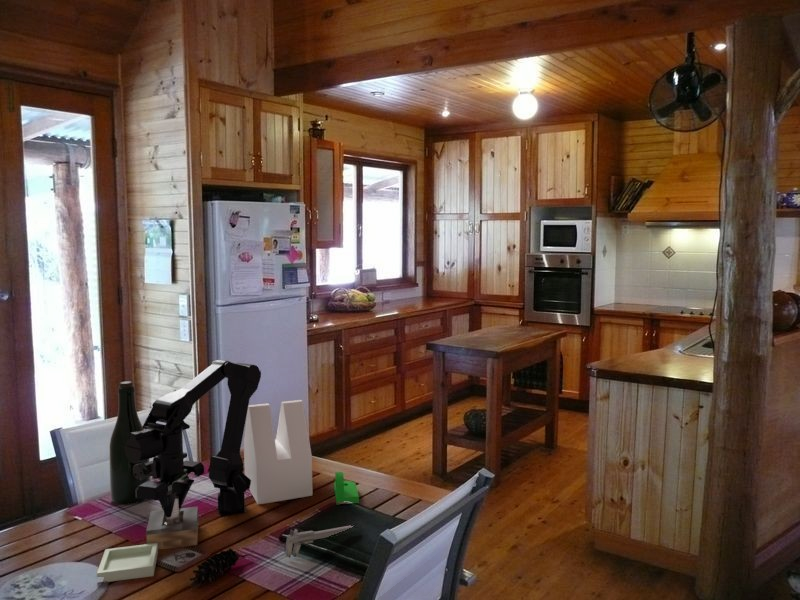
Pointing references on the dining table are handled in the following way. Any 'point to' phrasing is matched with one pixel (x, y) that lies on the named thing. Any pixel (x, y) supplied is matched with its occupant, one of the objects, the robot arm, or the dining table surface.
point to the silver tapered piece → (173, 514)
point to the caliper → (308, 538)
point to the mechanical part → (345, 489)
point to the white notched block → (278, 453)
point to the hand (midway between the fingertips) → (172, 514)
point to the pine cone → (215, 566)
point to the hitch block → (173, 529)
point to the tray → (128, 562)
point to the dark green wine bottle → (120, 466)
